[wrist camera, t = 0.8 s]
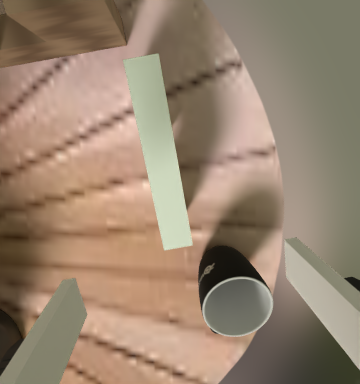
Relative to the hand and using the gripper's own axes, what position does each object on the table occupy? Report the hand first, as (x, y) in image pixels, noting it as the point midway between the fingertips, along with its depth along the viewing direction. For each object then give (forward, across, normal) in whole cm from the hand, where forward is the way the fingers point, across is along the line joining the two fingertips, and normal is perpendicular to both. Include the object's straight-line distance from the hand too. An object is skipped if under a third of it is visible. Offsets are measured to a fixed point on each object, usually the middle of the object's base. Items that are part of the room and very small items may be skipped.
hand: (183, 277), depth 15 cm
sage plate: (+21, 0, +6) cm, 22 cm away
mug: (+22, +5, -15) cm, 27 cm away
